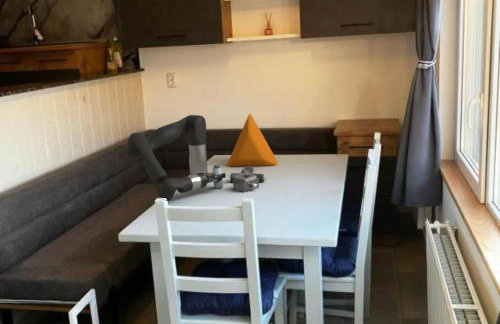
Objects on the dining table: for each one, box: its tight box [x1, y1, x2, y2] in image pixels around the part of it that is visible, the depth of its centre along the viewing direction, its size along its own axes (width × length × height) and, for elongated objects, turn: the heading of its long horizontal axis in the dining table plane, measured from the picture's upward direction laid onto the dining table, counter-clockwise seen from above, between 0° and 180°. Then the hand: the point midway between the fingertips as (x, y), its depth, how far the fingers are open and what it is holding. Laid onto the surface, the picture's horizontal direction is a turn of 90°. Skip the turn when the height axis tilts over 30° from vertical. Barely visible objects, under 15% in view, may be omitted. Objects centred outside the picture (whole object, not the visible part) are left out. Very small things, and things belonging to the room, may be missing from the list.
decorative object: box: [226, 113, 279, 168], centre depth 322 cm, size 30×15×30 cm, turn 82°
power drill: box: [229, 166, 267, 184], centre depth 294 cm, size 5×19×20 cm
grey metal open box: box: [232, 174, 260, 193], centre depth 274 cm, size 11×10×6 cm
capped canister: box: [212, 164, 224, 189], centre depth 278 cm, size 5×5×11 cm
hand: (221, 174), depth 280 cm, fingers closed on capped canister, 4 cm apart
